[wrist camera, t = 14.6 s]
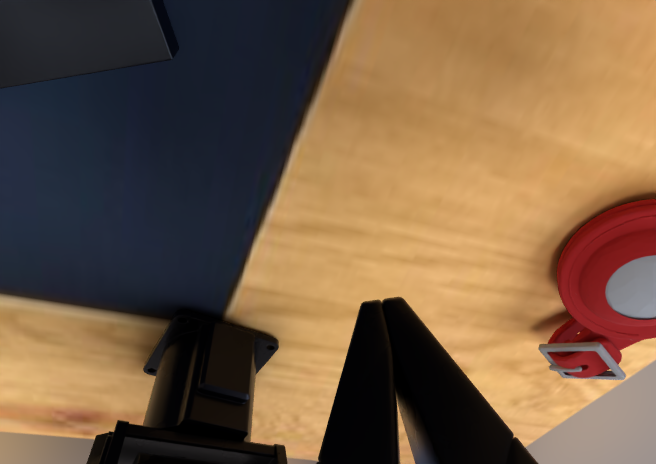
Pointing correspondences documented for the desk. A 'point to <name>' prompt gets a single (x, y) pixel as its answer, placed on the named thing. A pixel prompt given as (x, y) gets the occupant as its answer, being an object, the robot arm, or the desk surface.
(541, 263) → the desk surface
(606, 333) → the tracker holder
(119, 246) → the desk surface
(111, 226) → the desk surface
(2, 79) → the latch bracket
